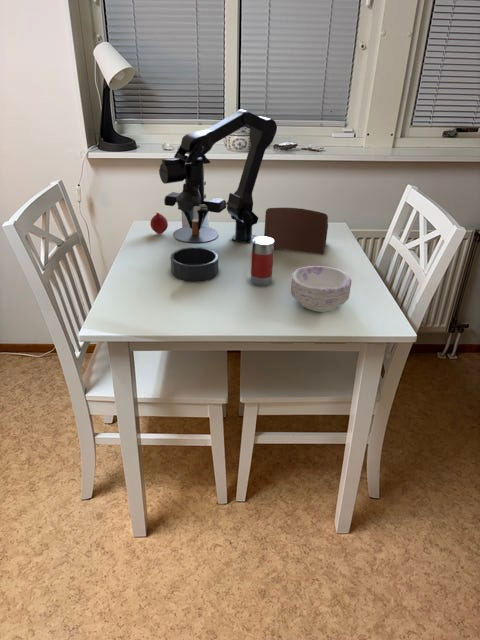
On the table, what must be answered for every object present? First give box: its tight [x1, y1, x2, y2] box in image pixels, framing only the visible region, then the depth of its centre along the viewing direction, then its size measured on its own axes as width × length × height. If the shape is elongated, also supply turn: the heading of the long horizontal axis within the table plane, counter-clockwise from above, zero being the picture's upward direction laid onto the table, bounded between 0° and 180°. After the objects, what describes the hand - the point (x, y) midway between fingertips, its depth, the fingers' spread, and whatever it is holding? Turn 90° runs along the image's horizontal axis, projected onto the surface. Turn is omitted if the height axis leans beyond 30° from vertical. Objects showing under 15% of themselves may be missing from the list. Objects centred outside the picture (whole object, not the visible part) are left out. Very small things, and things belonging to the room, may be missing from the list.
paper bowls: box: [290, 265, 352, 313], centre depth 127 cm, size 15×15×8 cm
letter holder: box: [263, 207, 329, 255], centre depth 160 cm, size 10×20×14 cm, turn 76°
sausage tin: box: [250, 236, 275, 287], centre depth 136 cm, size 6×6×12 cm
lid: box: [172, 219, 220, 245], centre depth 155 cm, size 15×15×6 cm
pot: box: [170, 246, 219, 283], centre depth 142 cm, size 14×14×5 cm
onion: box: [149, 211, 169, 235], centre depth 167 cm, size 6×6×8 cm
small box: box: [180, 206, 210, 228], centre depth 170 cm, size 8×6×10 cm
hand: (195, 228), depth 155 cm, fingers closed on lid, 2 cm apart
